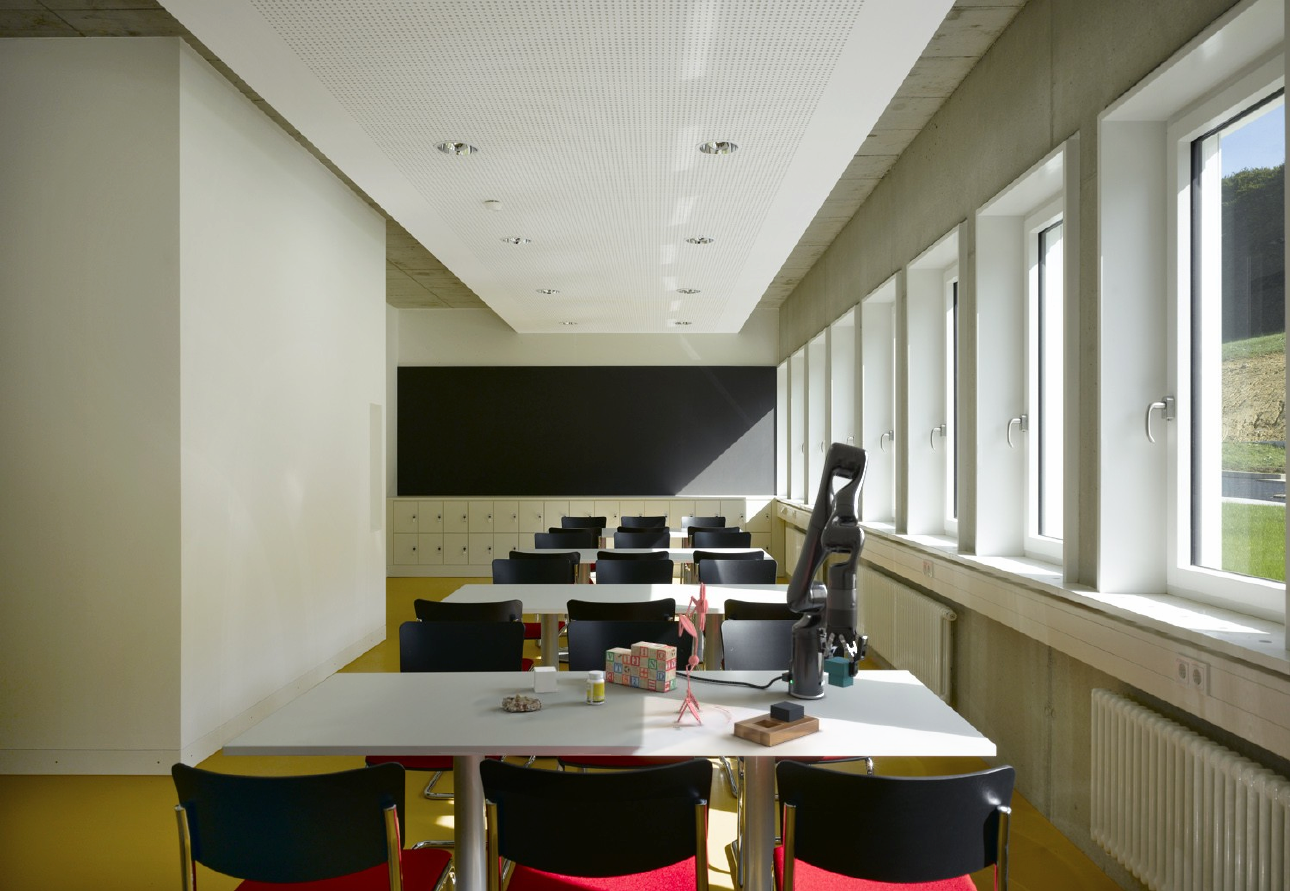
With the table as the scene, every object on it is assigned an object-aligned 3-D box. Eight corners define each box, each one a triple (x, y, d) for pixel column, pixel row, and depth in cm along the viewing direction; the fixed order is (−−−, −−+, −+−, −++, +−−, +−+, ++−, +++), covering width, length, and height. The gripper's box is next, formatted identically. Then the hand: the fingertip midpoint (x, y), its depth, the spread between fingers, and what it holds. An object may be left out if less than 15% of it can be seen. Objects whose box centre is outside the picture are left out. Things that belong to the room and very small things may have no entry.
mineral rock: (498, 703, 226) (505, 687, 234) (498, 718, 228) (505, 702, 235) (538, 706, 226) (544, 690, 234) (538, 721, 227) (544, 705, 235)
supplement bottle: (607, 702, 239) (607, 671, 239) (599, 706, 235) (599, 675, 235) (591, 699, 241) (592, 669, 241) (583, 703, 237) (584, 672, 237)
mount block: (733, 735, 211) (734, 722, 211) (783, 720, 225) (783, 708, 225) (769, 746, 203) (769, 733, 203) (819, 730, 216) (819, 718, 216)
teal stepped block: (823, 684, 213) (823, 659, 213) (837, 680, 217) (837, 656, 217) (844, 689, 209) (844, 664, 209) (858, 685, 213) (858, 660, 213)
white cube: (535, 693, 247) (535, 671, 247) (533, 687, 253) (534, 667, 253) (556, 692, 248) (556, 671, 248) (554, 686, 254) (554, 666, 254)
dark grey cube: (769, 729, 217) (770, 705, 217) (784, 724, 221) (785, 701, 221) (789, 734, 212) (789, 710, 213) (803, 730, 216) (804, 706, 217)
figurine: (672, 731, 213) (674, 589, 214) (677, 703, 239) (679, 576, 240) (734, 734, 212) (737, 591, 213) (733, 705, 237) (735, 578, 238)
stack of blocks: (604, 681, 262) (605, 640, 262) (616, 677, 267) (617, 637, 267) (665, 692, 250) (666, 649, 250) (676, 688, 255) (676, 646, 256)
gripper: (875, 608, 211) (874, 677, 210) (826, 600, 221) (825, 666, 221) (858, 611, 206) (857, 682, 205) (808, 603, 216) (807, 670, 216)
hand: (840, 673), depth 213 cm, fingers closed on teal stepped block, 6 cm apart
